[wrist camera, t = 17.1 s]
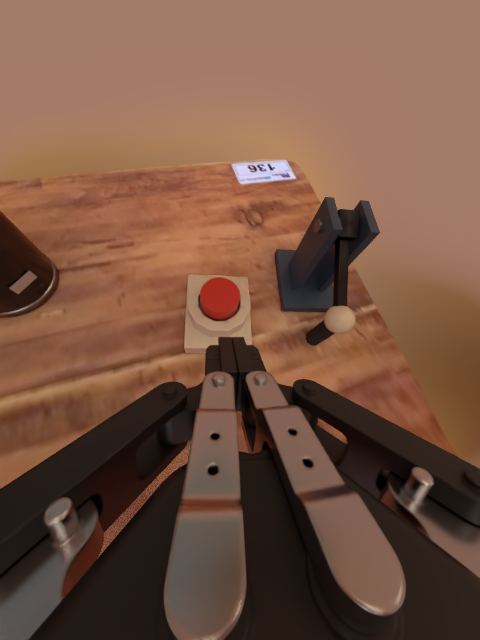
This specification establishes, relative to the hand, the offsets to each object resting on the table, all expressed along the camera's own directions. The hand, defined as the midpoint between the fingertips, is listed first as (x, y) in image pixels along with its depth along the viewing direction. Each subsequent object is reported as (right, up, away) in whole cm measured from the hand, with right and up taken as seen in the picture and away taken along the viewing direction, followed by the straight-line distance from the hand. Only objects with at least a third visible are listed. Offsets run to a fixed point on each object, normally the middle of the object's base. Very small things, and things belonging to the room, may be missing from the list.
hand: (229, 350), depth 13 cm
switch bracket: (+10, +8, +21) cm, 25 cm away
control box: (-2, +2, +17) cm, 17 cm away
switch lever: (+11, +7, +13) cm, 19 cm away
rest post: (+11, -1, +18) cm, 21 cm away
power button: (-2, +4, +13) cm, 14 cm away
